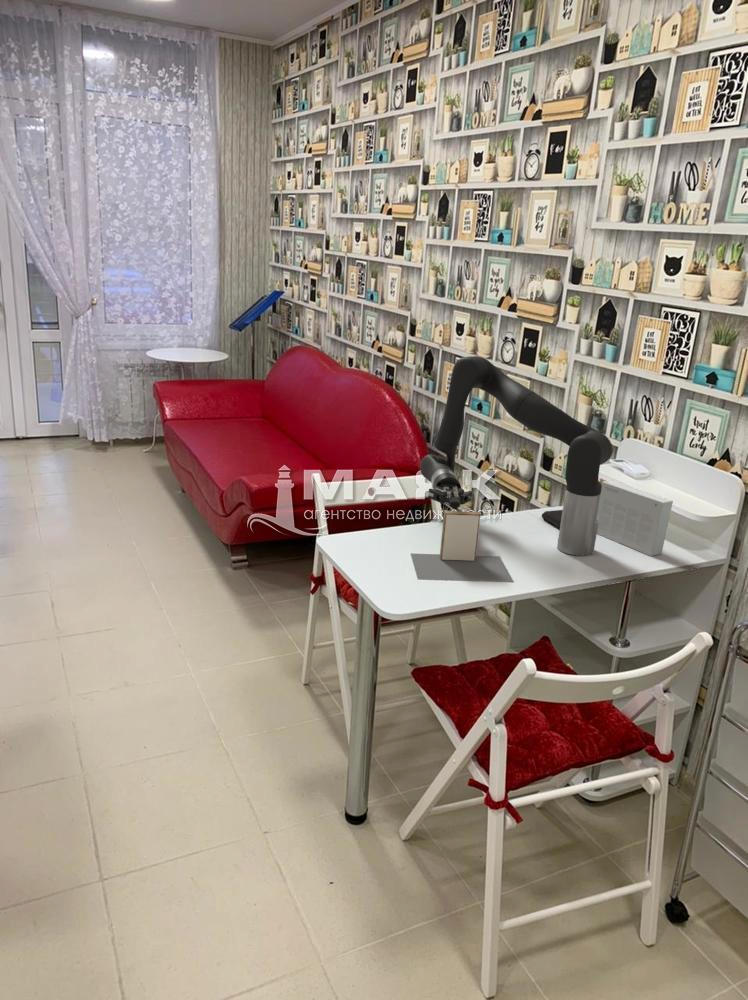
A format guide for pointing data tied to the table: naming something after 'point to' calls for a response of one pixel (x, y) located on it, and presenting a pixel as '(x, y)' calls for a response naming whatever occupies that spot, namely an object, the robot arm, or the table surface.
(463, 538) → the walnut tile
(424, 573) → the charcoal mat
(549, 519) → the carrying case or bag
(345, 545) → the table surface
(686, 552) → the table surface
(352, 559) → the table surface
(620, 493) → the skincare box
